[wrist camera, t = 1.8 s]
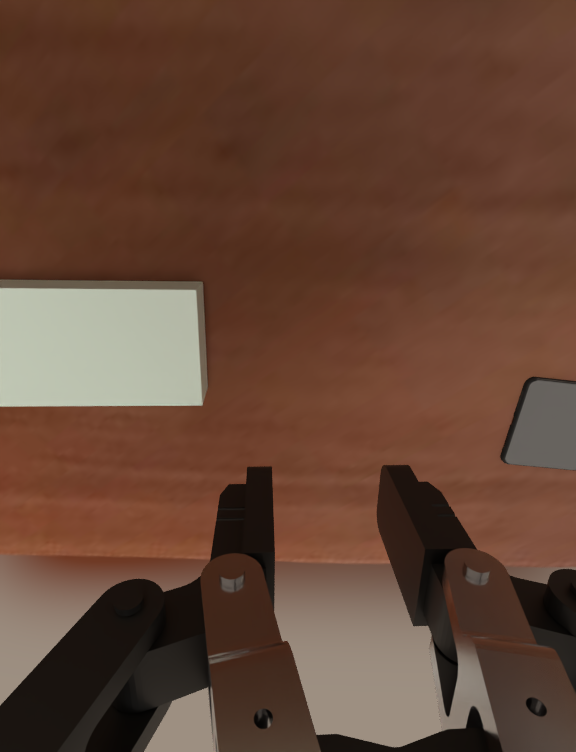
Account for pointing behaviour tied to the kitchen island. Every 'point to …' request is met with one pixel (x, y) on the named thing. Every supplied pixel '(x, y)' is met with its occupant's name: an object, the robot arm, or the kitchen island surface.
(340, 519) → the kitchen island surface
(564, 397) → the smartphone
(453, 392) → the kitchen island surface
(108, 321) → the sage green bar
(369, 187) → the kitchen island surface
